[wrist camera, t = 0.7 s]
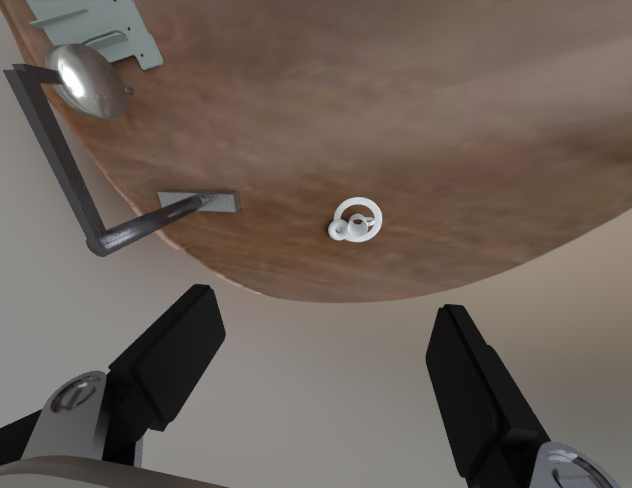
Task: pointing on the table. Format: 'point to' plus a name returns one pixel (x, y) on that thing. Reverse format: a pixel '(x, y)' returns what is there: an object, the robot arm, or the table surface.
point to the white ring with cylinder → (353, 229)
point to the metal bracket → (98, 28)
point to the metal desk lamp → (97, 102)
